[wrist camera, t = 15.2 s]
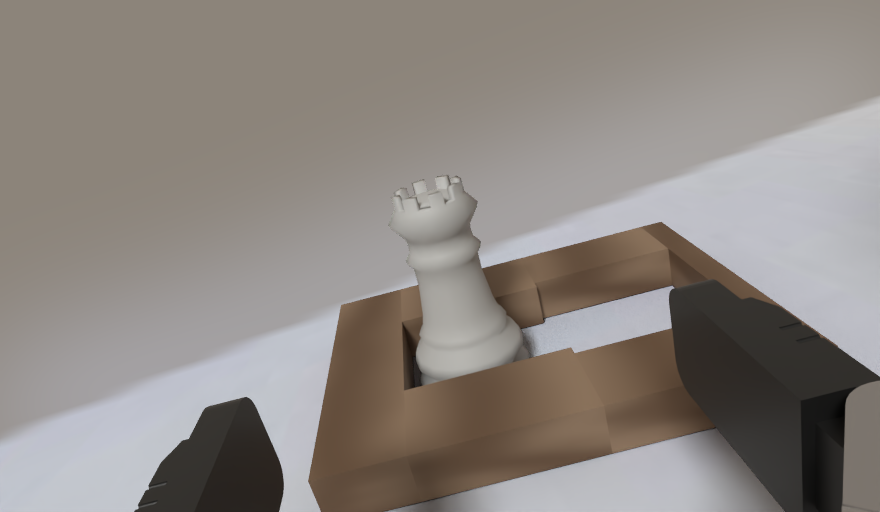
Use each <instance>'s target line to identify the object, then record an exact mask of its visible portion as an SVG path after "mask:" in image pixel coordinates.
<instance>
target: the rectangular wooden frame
mask: <svg viewBox="0 0 880 512" xmlns="http://www.w3.org/2000/svg"><path fill="white" fill-rule="evenodd" d="M482 270H483V273H484V275H485V277H486V280H487V282H488V285H489V287H490V290H491V292H492V295H493V297H494V299H495V300H496V302H497V304H499V305H501V306H502V308H503V309H504V310H505V311H506V315H507V316H509V317H511V318H512V319H513V320H514V321H515V322H516V324H517V325H518V326H519V327H520V329H522V328H526V327H530V326H533V325H537V324H541V323H544V321H543V318H546V317H550V316H554V315H558V314H562V313H566V312H569V311H573V310H577V309H581V308H585V307H589V306H593V305H597V304H600V303H604V302H608V301H612V300H616V299H620V298H624V297H628V296H631V295H635V294H639V293H643V292H647V291H651V290H655V289H659V288H662V287H666V286H670V285H673V286H674V287H675V288H678V287H682V286H686V285H690V284H694V283H698V282H702V281H706V280H710V279H714V280H717V281H718V282H719V283H721V284H722V285H723V286H725V287H726V288H727V289H729V290H730V291H731V292H733V293H734V294H735V295H737V296H738V297H739V298H740V299H745V298H749V297H752V298H755V299H758V300H761V301H764V302H767V303H770V304H773V305H776V306H779V307H781V308H783V307H782V306H780V305H779V304H777V303H776V302H774V301H773V300H772V299H770V298H769V297H767V296H766V295H764V294H763V293H762V292H760V291H759V290H757V289H756V288H754V287H753V286H752V285H750V284H749V283H747V282H746V281H744V280H743V279H742V278H740V277H739V276H737V275H736V274H735V273H733V272H732V271H730V270H729V269H727V268H726V267H725V266H723V265H722V264H720V263H719V262H717V261H716V260H715V259H713V258H712V257H710V256H709V255H707V254H706V253H705V252H703V251H702V250H700V249H699V248H697V247H696V246H695V245H693V244H692V243H690V242H689V241H688V240H686V239H685V238H683V237H682V236H680V235H679V234H678V233H676V232H675V231H673V230H672V229H670V228H669V227H668V226H666V225H665V224H663V223H662V222H659V223H655V224H651V225H647V226H643V227H639V228H636V229H632V230H628V231H624V232H620V233H616V234H613V235H609V236H605V237H601V238H597V239H593V240H589V241H586V242H582V243H578V244H574V245H570V246H566V247H563V248H559V249H555V250H551V251H547V252H543V253H540V254H536V255H532V256H528V257H524V258H520V259H516V260H513V261H509V262H505V263H501V264H497V265H493V266H490V267H486V268H482ZM783 309H784V308H783ZM784 310H786V309H784ZM786 311H787V310H786ZM787 312H788V313H790V312H789V311H787ZM790 314H791V315H793V314H792V313H790ZM793 316H794V315H793ZM794 317H796V316H794ZM796 318H797V317H796ZM797 319H798V320H800V319H799V318H797ZM800 321H801V320H800ZM801 322H802V325H807V324H806V323H804V322H803V321H801ZM422 325H423V312H422V305H421V298H420V291H419V285H417V286H413V287H409V288H405V289H401V290H397V291H393V292H390V293H386V294H382V295H378V296H374V297H370V298H367V299H363V300H359V301H355V302H351V303H347V304H343V305H341V309H340V314H339V320H338V325H337V330H336V336H335V341H334V347H333V352H332V357H331V363H330V368H329V373H328V379H327V384H326V389H325V395H324V400H323V405H322V411H321V416H320V421H319V427H318V432H317V437H316V443H315V448H314V453H313V459H312V464H311V469H310V475H309V480H308V482H309V484H310V486H311V489H312V491H313V494H314V496H315V498H316V501H317V503H318V505H319V508H320V510H321V512H384V511H388V510H392V509H395V508H399V507H403V506H407V505H411V504H415V503H419V502H423V501H427V500H431V499H435V498H439V497H443V496H447V495H451V494H455V493H459V492H462V491H466V490H470V489H474V488H478V487H482V486H486V485H490V484H494V483H498V482H502V481H506V480H510V479H514V478H518V477H522V476H526V475H530V474H533V473H537V472H541V471H545V470H549V469H553V468H557V467H561V466H565V465H569V464H573V463H577V462H581V461H585V460H589V459H593V458H597V457H601V456H604V455H608V454H612V453H616V452H620V451H624V450H628V449H632V448H636V447H640V446H644V445H648V444H652V443H656V442H660V441H664V440H668V439H672V438H675V437H679V436H683V435H687V434H691V433H695V432H699V431H703V430H707V429H711V428H715V425H714V424H713V423H712V422H711V420H710V419H709V418H708V417H707V416H706V414H705V413H704V412H703V411H702V409H701V408H700V407H699V406H698V405H697V403H696V402H695V401H694V400H693V399H692V397H691V396H690V395H689V393H688V392H687V390H686V389H685V387H684V385H683V383H682V380H681V378H680V375H679V372H678V369H677V365H676V359H675V350H674V341H673V332H672V328H671V329H668V330H664V331H660V332H656V333H652V334H648V335H644V336H640V337H636V338H633V339H629V340H625V341H621V342H617V343H613V344H609V345H605V346H601V347H598V348H594V349H590V350H586V351H582V352H578V353H574V352H573V350H572V348H567V349H563V350H560V351H556V352H552V353H548V354H544V355H540V356H536V357H532V358H528V359H525V360H521V361H517V362H513V363H509V364H505V365H501V366H497V367H493V368H490V369H486V370H482V371H478V372H474V373H470V374H466V375H462V376H458V377H455V378H451V379H447V380H443V381H439V382H435V383H431V384H427V385H423V386H420V387H416V388H415V387H414V371H413V356H416V350H417V347H418V343H419V341H420V339H421V337H420V335H419V334H420V330H421V327H422ZM807 326H808V327H810V326H809V325H807ZM810 328H811V327H810ZM811 329H813V328H811ZM813 330H814V329H813ZM814 331H815V332H817V331H816V330H814ZM817 333H818V334H819V336H820V338H825V339H827V338H826V337H824V336H823V335H821V334H820V333H819V332H817ZM827 340H828V341H830V340H829V339H827ZM830 342H831V341H830ZM831 343H832V344H834V343H833V342H831ZM834 345H835V346H837V345H836V344H834ZM837 347H838V346H837Z"/></svg>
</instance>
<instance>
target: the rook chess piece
mask: <svg viewBox="0 0 880 512" xmlns="http://www.w3.org/2000/svg"><path fill="white" fill-rule="evenodd" d="M450 181H451V183H450ZM435 182H436V186H437V189H434V190H429V191H427V187H426V184H425V180H420V181H418V182H414V183H412V186H413V189H414V193H415V195H414V196H412V197H409V194H408V191H407V188H400V189H399V190H398V191H396V192H394V194H395V196H393V197H391V198H392V201H393V205H394V208H395V210H394V212H393V215H392V217H391V220H390V222H389V227H390V228H391V229H392V230H393V231H394V232H396V233H397V234H399V236H401V237H402V238H403V239H405V240H406V241H407V243H408V246H409V255H408V257H407V260H406V262H407V264H408V265H409V266H410V267H411V268H413V269H414V271H415V274H416V277H417V281H418V284H419V291H420V298H421V305H422V312H423V325H422V327H421V330H420V334H419V335H420V337H421V339H420V341H419V343H418V347H417V350H416V363H417V365H418V367H419V369H420V371H421V372H422V374H421V378H420V381H421V384H422V386H423V385H427V384H431V383H435V382H439V381H443V380H447V379H451V378H455V377H458V376H462V375H466V374H470V373H474V372H478V371H482V370H486V369H490V368H493V367H497V366H501V365H505V364H509V363H513V362H517V361H521V360H525V359H528V358H529V351H528V350H527V349H526V348H525V347H524V346H523V333H522V331H521V329H520V327H519V326H518V325H517V324H516V322H515V321H514V320H513V319H512V318H511V317H509V316H507V315H506V311H505V310H504V309H503V308H502V306H501V305H499V304H497V302H496V300H495V299H494V297H493V295H492V292H491V290H490V287H489V285H488V282H487V280H486V277H485V275H484V273H483V270H482V268H481V264H480V259H479V255H478V250H479V248H480V243H481V241H480V240H479V239H477V238H476V237H475V236H473V234H472V231H471V228H470V222H471V219H472V217H473V214H474V212H475V210H476V207H477V200H475V199H474V198H473V197H471V196H470V195H469V194H468V193H466V192H465V191H464V189H463V185H462V181H461V178H460V177H458V176H455V177H452V178H450V179H449V176H448V175H446V176H437V177H436V178H435Z"/></svg>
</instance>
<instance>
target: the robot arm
mask: <svg viewBox="0 0 880 512" xmlns="http://www.w3.org/2000/svg"><path fill="white" fill-rule="evenodd" d="M669 305H670V314H671V323H672V332H673V341H674V350H675V359H676V365H677V369H678V372H679V375H680V378H681V380H682V383H683V385H684V387H685V389H686V390H687V392H688V393H689V395H690V396H691V397H692V399H693V400H694V401H695V402H696V403H697V405H698V406H699V407H700V408H701V409H702V411H703V412H704V413H705V414H706V416H707V417H708V418H709V419H710V420H711V422H712V423H713V424H714V425H715V427H716V428H717V429H718V430H719V431H720V433H721V434H722V435H723V436H724V438H725V439H726V440H727V441H728V442H729V444H730V445H731V446H732V447H733V449H734V450H735V451H736V452H737V453H738V455H739V456H740V457H741V458H742V459H743V461H744V462H745V463H746V464H747V466H748V467H749V468H750V469H751V470H752V472H753V473H754V474H755V475H756V477H757V478H758V479H759V480H760V481H761V483H762V484H763V485H764V486H765V488H766V489H767V490H768V491H769V492H770V494H771V495H772V496H773V497H774V499H775V500H776V501H777V502H778V503H779V505H780V506H781V507H782V508H783V509H784V511H785V512H880V377H879V376H878V375H876V374H875V373H874V372H872V371H871V370H869V369H868V368H866V367H865V366H864V365H862V364H861V363H859V362H858V361H856V360H855V359H854V358H852V357H851V356H849V355H848V354H847V353H845V352H844V351H842V350H841V349H839V348H838V347H837V346H835V345H834V344H832V343H831V342H830V341H828V340H827V339H825V338H820V336H819V334H818V333H817V332H815V331H814V330H813V329H811V328H810V327H808V326H807V325H802V322H801V321H800V320H798V319H797V318H796V317H794V316H793V315H791V314H790V313H788V312H787V311H786V310H784V309H783V308H781V307H779V306H776V305H773V304H770V303H767V302H764V301H761V300H758V299H755V298H752V297H749V298H745V299H740V298H739V297H738V296H737V295H735V294H734V293H733V292H731V291H730V290H729V289H727V288H726V287H725V286H723V285H722V284H721V283H719V282H718V281H717V280H714V279H710V280H706V281H702V282H698V283H694V284H690V285H686V286H682V287H678V288H674V289H672V290H671V291H670V295H669ZM283 490H284V482H283V473H282V468H281V465H280V461H279V459H278V457H277V454H276V452H275V450H274V447H273V445H272V443H271V441H270V438H269V436H268V434H267V431H266V429H265V427H264V425H263V422H262V420H261V418H260V416H259V413H258V411H257V409H256V407H255V405H254V403H253V402H252V400H251V399H249V398H247V397H244V398H240V399H236V400H232V401H228V402H224V403H220V404H216V405H213V406H209V407H206V408H205V409H204V411H203V412H202V414H201V416H200V418H199V420H198V422H197V424H196V426H195V428H194V430H193V432H192V434H191V436H190V438H189V439H187V440H183V441H182V442H181V443H180V444H179V445H178V446H177V447H176V448H175V449H174V450H173V451H172V452H171V453H170V454H169V455H168V456H167V457H166V458H165V459H164V460H163V461H162V462H161V464H160V465H159V467H158V469H157V471H156V473H155V475H154V476H153V478H152V480H151V482H150V484H149V490H146V491H145V493H144V495H143V497H142V499H141V500H140V502H139V504H138V506H139V509H137V510H135V511H134V512H279V510H280V505H281V501H282V497H283Z"/></svg>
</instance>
